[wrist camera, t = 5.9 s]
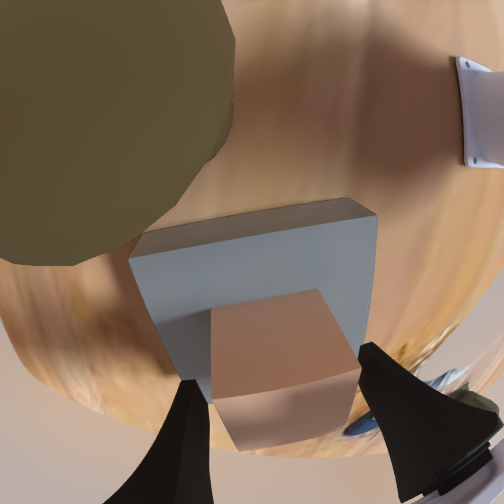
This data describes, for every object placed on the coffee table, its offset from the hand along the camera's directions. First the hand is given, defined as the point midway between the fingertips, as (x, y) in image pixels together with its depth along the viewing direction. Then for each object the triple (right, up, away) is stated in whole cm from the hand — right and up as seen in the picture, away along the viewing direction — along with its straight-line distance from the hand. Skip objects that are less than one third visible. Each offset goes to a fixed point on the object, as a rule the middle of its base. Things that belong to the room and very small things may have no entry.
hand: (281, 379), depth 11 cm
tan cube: (0, +1, +3) cm, 3 cm away
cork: (-5, +12, +1) cm, 13 cm away
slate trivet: (-1, +3, +5) cm, 6 cm away
